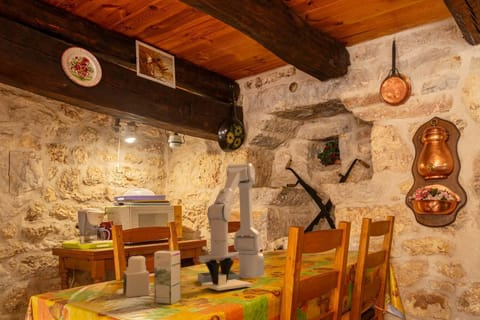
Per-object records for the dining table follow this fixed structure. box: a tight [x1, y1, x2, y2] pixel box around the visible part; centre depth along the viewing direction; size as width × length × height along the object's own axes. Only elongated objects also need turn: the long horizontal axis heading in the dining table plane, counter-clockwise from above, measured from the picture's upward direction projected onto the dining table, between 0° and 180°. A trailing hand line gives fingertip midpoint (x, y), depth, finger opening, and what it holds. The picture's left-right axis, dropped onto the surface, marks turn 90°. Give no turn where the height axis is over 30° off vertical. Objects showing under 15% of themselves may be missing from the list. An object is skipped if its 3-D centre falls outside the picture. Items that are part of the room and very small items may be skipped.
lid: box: [201, 274, 253, 291], centre depth 126 cm, size 14×10×4 cm
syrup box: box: [153, 249, 181, 305], centre depth 112 cm, size 6×6×14 cm
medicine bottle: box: [122, 254, 150, 299], centre depth 122 cm, size 7×7×12 cm
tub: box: [197, 270, 240, 285], centre depth 137 cm, size 13×9×3 cm
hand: (219, 283), depth 124 cm, fingers closed on lid, 3 cm apart
